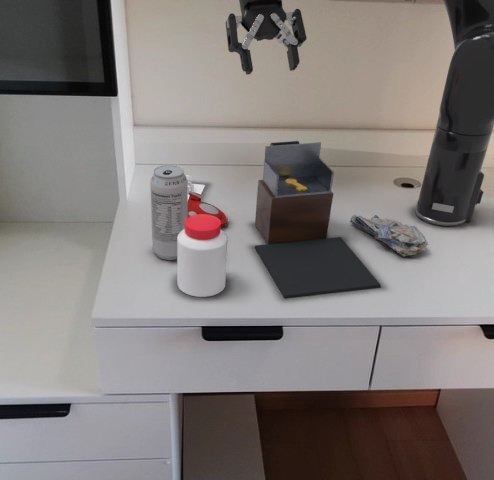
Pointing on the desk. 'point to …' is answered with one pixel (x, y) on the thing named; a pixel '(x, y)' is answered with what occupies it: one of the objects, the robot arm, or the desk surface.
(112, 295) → the desk surface
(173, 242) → the energy drink can
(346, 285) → the mat
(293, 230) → the stand
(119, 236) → the desk surface
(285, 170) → the key caddy
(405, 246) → the mineral specimen
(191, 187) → the adhesive hook
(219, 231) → the pill bottle
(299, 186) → the brass key
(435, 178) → the robot arm
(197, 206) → the tracker holder
